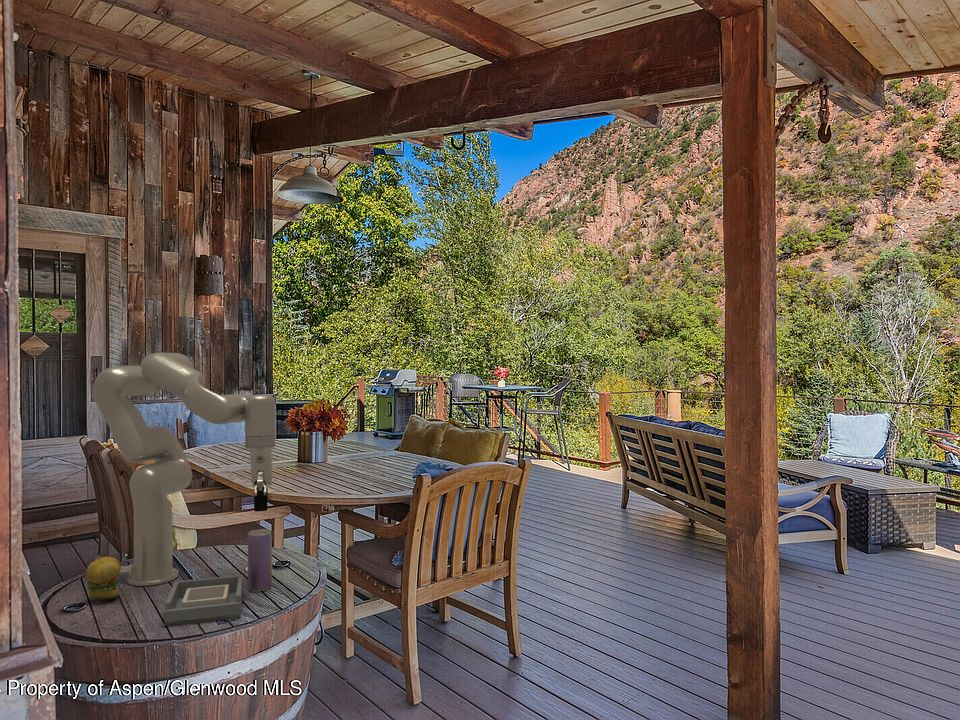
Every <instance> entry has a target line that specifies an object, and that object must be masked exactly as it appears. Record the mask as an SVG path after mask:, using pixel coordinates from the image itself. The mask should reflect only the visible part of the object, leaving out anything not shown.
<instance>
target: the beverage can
mask: <svg viewBox="0 0 960 720" xmlns="http://www.w3.org/2000/svg"><path fill="white" fill-rule="evenodd" d="M272 539H273V534H272V530H270V529H267V528H261V529H259V528H258V529H253V530H251V531H249V532H248V535H247V589H248V590H249V592H251V593H262V592H261V591H263V592H266V591H268V590H270V589H271V588H272V585H273V580H272V579H273V577H272V576H273V571H272V570H273V564H272V563H273V559H272V558H273V557H272V556H273V552H272V550H273V547H272V546H273V540H272ZM269 588H270V589H269ZM265 590H266V591H265Z"/></svg>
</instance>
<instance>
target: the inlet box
mask: <svg viewBox="0 0 960 720" xmlns="http://www.w3.org/2000/svg"><path fill="white" fill-rule="evenodd" d="M243 598H244V574H238V575H229V576H227V575H226V576H218V577H217V576H216V577H207V578H198V579H196V578H195V579H188V580H186V579H185V580H179V581H178V580H176V581H174V583H173V585H172V587H171V589H170V592H169V594H168V596H167V598H166V601H165V603H164V625H163V626H170V627H174V626H173V625H179V626H187V625H194V624H202V623H203V624H204V623H211V622H212V623H213V622H219V621H220V622H221V621H228V620H237V619H241V614H242V609H243V608H242V606H243V601H244V599H243ZM186 624H187V625H186Z"/></svg>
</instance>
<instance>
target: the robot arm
mask: <svg viewBox="0 0 960 720" xmlns="http://www.w3.org/2000/svg"><path fill="white" fill-rule="evenodd" d="M204 385H205V377H204V374H203V373H202V372H201V371H199V370H197V369H195V368H193V363H192V361H191V360H190V358H189V357H188V356H186V355H184V354H182V353H179V352H153V353H151V354H148V355H146V356H145V357H144V358H143V359H142V361H141V363H140V365H119V366H118V365H115V366H112V367H108V368H105V369H103V370H102V371H100V373H99V374H98V375H97V376H96V378H95V380H94V383H93V386H92V387H93V388H92V394H93V395H92V396H93V399H94V402H95V404H96V407H97V408H98V410H99V412H100V414H101V415H102V417H103V418H104V420H105V421H106V424H107V425H108V428H109V430H110V433H111V434H112V435H111V436H113V438H114V442H115V444H116V445H117V448H118V450H119V452H120V454H121V456H122V458H123V459H124V460H125V461H126V462H128V463H130V464H139V463H145V462H149V461H153V462H152V463H148V464H145V465H142V466H140V467H139V468H137V469H136V470H134V472H133V473H132V474H131V477H130V478H129V491H130V496H131V499H132V500H131V501H132V508H133V509H132V510H133V563H130V564H129V565H121V569H120V572H119V573H118V574H117V575H119V576H125V575H128V576H127V580H126V582H127V583H128V585H131V586H137V587H149V586H156V585H161V584H165V583H168V582H171V581H174V580H176V578H177V577H178V576H179V575H180V574H179V573H180V572H179V570H178V569H177V568H175V567H173V564H174V563H173V555H174V554H173V551H174V550H173V545H174V544H173V536H174V535H173V529H174V528H173V524H174V523H173V509H172V506H171V504H170V502H169V500H168V496H169V495H173V494H175V493H179V492H181V491H182V492H183V490H185V489H187V488H189V486H190V484H191V483H192V479H193V471H192V467H191V465H190V462H189V460H188V458H187V456H186V454H185V452H184V450H183V448H182V445H181V443H180V441H179V440H178V437H177V435H176V434H175V433H174V432H173V431H172V430H171V429H170V428H168V427H167V426H163V425H155V426H154V425H153V426H149V425H148V424H147V423H146V421H145V419H144V418H143V415H142V412H141V411H140V410H139V408H138V407H137V406H136V405H135V404H134V403H132V401H131V400H129V398H128V397H132V396H147V395H151V394H155V393H158V392H161V391H164V390H165V391H167V392H168V393H171V394H172V395H174V396H176V397H178V398H180V399H181V401H182V403H183V405H185V408H186V409H187V410H188V411H189V412H190V413H192V414H194V415H195V416H196V417H199V418H200V419H203V420H204V421H206V422H209V423H211V424H215V425H228V424H233V423H234V424H235V423H240V422H241V423H242V422H244V435H245V436H244V438H245V439H244V444H245V445H244V448H245V449H246V450H249V457H250V459H249V461H250V462H249V463H250V477H251V485H252V487H254V495H253V511H254V512H266V511H268V503H269V502H268V487H271V486H272V485H273V453H272V449H273V448H276V405H275V404H276V400H275V398H274V396H272V395H269V394H254V395H253V394H252V395H251V394H245V393H233V394H230V393H229V394H217V393H215V392H213V391H211V390H209V389H208V388H206V387H204ZM268 485H269V486H268ZM267 486H268V487H267Z"/></svg>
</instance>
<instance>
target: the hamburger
mask: <svg viewBox="0 0 960 720" xmlns="http://www.w3.org/2000/svg"><path fill="white" fill-rule="evenodd" d="M94 559H95V560H94V561H92V562H91V563H90V564H89V565H88V567H87V568H86V571H85V577H86V579H87V581H88V582H87V585H88V587H87V589H88V597H89V598H91V599H93V600H110V599H113V598H116V597H117V596H118V595H119V593H120V590H119V589H117V586H119V584H120V583H119V582H118V580H119V579H120V578H119V576H118V575H119V574H118V573H119V572H120V569H121V566H122V564H121V562H120V560H118V558H116V557H113V556H102V557H101V555H98V556H95V557H94Z"/></svg>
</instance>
